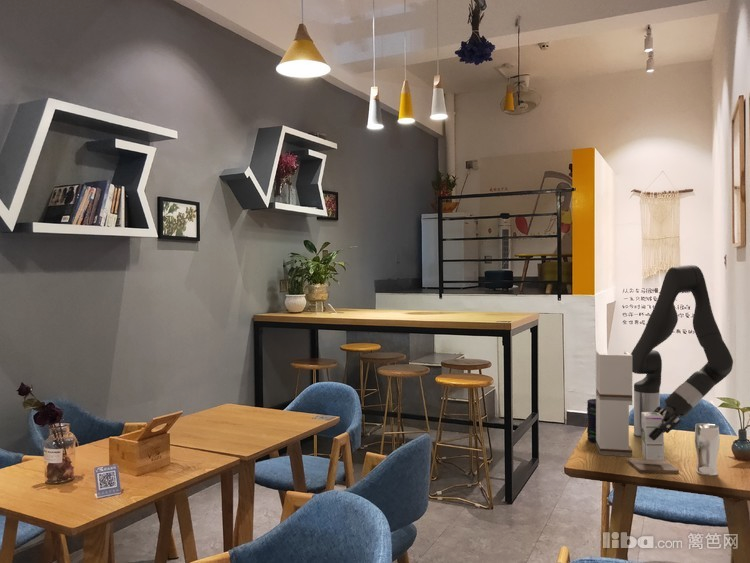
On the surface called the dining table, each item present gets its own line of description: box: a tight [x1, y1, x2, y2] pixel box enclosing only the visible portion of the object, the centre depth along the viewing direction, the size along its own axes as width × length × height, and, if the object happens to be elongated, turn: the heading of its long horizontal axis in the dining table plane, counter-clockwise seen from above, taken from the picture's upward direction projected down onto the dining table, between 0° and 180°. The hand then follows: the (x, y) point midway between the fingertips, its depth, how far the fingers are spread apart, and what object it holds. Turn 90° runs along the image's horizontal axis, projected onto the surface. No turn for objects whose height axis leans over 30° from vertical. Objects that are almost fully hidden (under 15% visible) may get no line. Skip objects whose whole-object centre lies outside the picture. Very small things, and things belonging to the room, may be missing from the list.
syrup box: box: [641, 412, 665, 461], centre depth 202 cm, size 6×6×14 cm
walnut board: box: [626, 458, 680, 474], centre depth 202 cm, size 12×12×1 cm
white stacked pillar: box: [595, 350, 633, 457], centre depth 221 cm, size 11×11×35 cm
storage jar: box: [586, 398, 596, 444], centre depth 234 cm, size 10×10×15 cm
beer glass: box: [694, 422, 720, 477], centre depth 196 cm, size 7×7×15 cm
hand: (647, 435), depth 202 cm, fingers closed on syrup box, 6 cm apart
